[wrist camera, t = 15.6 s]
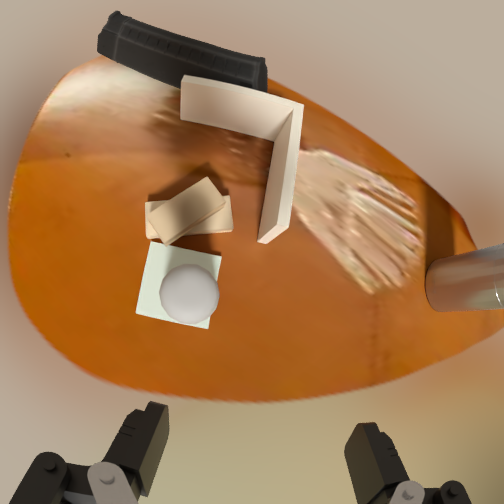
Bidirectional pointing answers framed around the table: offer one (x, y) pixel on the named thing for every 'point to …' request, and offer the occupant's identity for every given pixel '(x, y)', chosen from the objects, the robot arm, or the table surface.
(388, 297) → the table surface
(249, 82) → the magazine
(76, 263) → the table surface
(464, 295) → the robot arm
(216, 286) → the salt shaker
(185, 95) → the bracket
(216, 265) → the tile
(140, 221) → the table surface
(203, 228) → the block
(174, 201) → the offcut short
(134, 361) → the table surface
